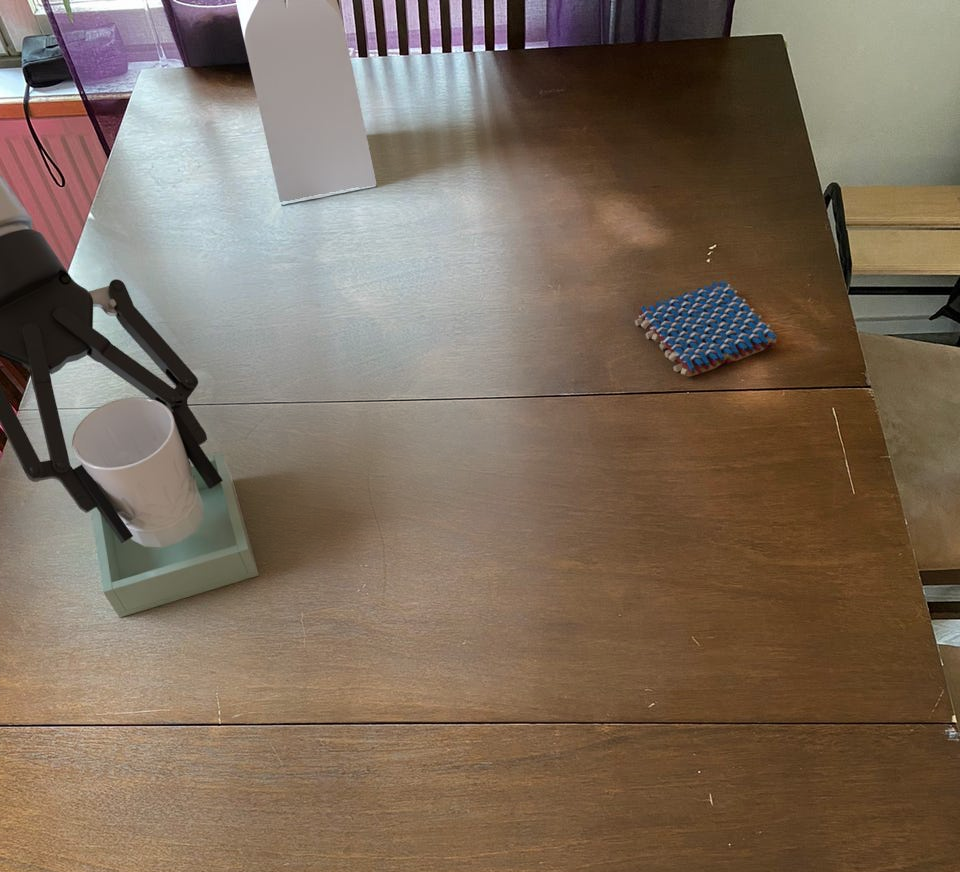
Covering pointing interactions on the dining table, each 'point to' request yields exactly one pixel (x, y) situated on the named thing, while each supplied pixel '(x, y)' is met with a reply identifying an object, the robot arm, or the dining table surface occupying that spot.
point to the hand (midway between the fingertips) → (172, 511)
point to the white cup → (141, 469)
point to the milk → (306, 96)
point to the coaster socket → (178, 553)
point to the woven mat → (706, 329)
